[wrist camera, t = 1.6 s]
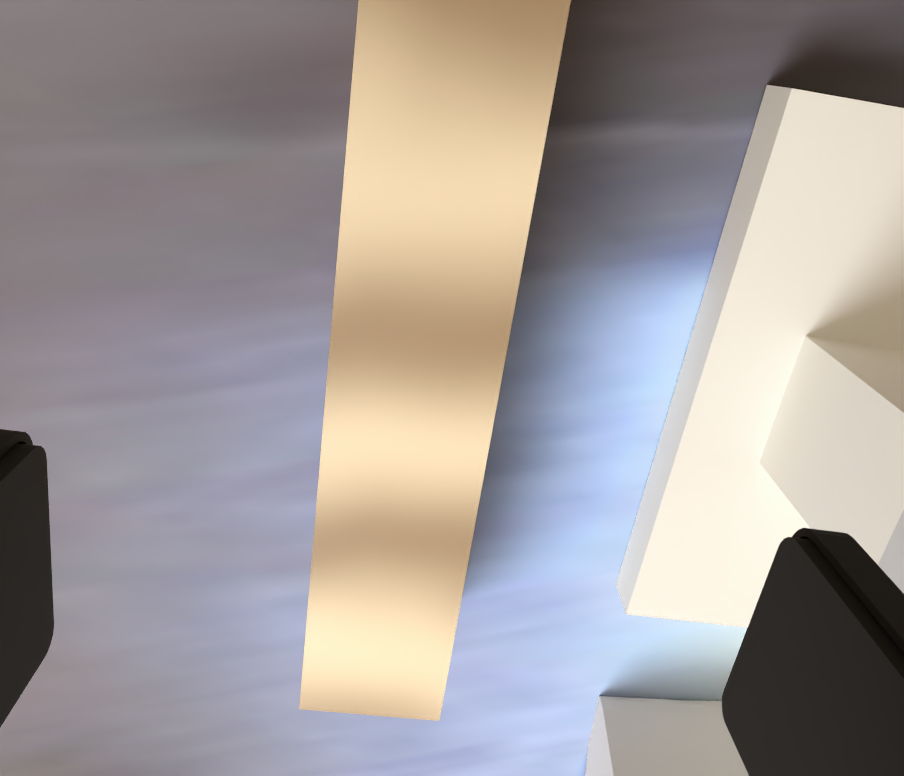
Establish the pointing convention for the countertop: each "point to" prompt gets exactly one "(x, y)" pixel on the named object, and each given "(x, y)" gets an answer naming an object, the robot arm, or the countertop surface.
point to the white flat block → (661, 739)
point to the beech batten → (420, 333)
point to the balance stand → (785, 369)
